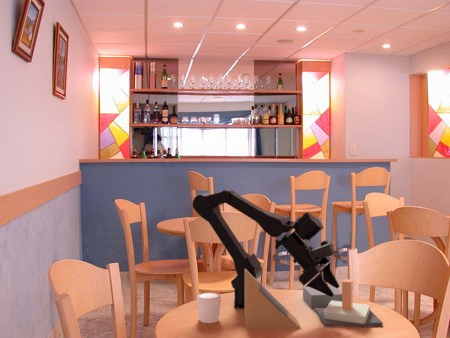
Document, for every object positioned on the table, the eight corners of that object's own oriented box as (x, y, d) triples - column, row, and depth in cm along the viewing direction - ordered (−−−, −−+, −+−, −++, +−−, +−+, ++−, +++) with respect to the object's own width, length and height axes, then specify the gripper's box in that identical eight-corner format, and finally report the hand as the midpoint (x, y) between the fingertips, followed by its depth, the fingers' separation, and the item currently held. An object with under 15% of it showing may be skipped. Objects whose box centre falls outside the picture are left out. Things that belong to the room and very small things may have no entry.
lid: (323, 318, 138) (323, 283, 138) (331, 306, 148) (331, 274, 148) (365, 324, 133) (365, 287, 133) (370, 311, 144) (370, 277, 144)
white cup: (193, 322, 138) (193, 297, 138) (202, 314, 144) (202, 291, 144) (215, 325, 136) (215, 300, 135) (224, 317, 142) (224, 293, 142)
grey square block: (311, 308, 150) (311, 295, 150) (302, 298, 160) (302, 286, 160) (342, 307, 151) (342, 294, 151) (332, 297, 161) (332, 285, 161)
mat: (324, 326, 134) (324, 323, 134) (315, 311, 147) (315, 308, 147) (382, 326, 135) (382, 322, 134) (367, 310, 148) (367, 307, 147)
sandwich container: (302, 329, 132) (302, 275, 132) (246, 330, 132) (246, 275, 132) (297, 319, 141) (297, 267, 141) (244, 319, 141) (244, 267, 140)
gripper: (311, 238, 135) (351, 282, 131) (324, 228, 152) (360, 267, 148) (283, 263, 138) (321, 307, 134) (299, 251, 155) (333, 289, 151)
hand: (335, 291), depth 142 cm, fingers open, 9 cm apart
